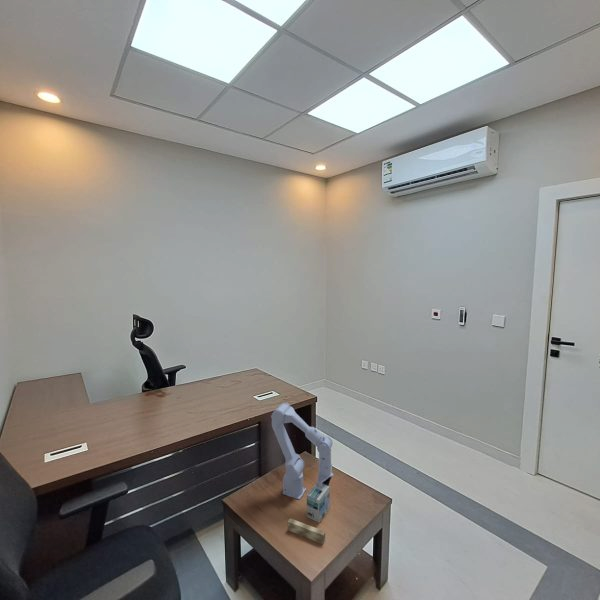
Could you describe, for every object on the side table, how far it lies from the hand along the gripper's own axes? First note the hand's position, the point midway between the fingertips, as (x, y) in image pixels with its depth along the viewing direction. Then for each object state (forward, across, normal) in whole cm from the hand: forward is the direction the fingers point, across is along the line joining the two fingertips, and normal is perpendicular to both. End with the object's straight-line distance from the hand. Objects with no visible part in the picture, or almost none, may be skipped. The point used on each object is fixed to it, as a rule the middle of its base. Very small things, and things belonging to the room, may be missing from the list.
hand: (325, 490), depth 150 cm
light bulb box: (+5, -8, 0) cm, 10 cm away
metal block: (+5, -22, 0) cm, 22 cm away
